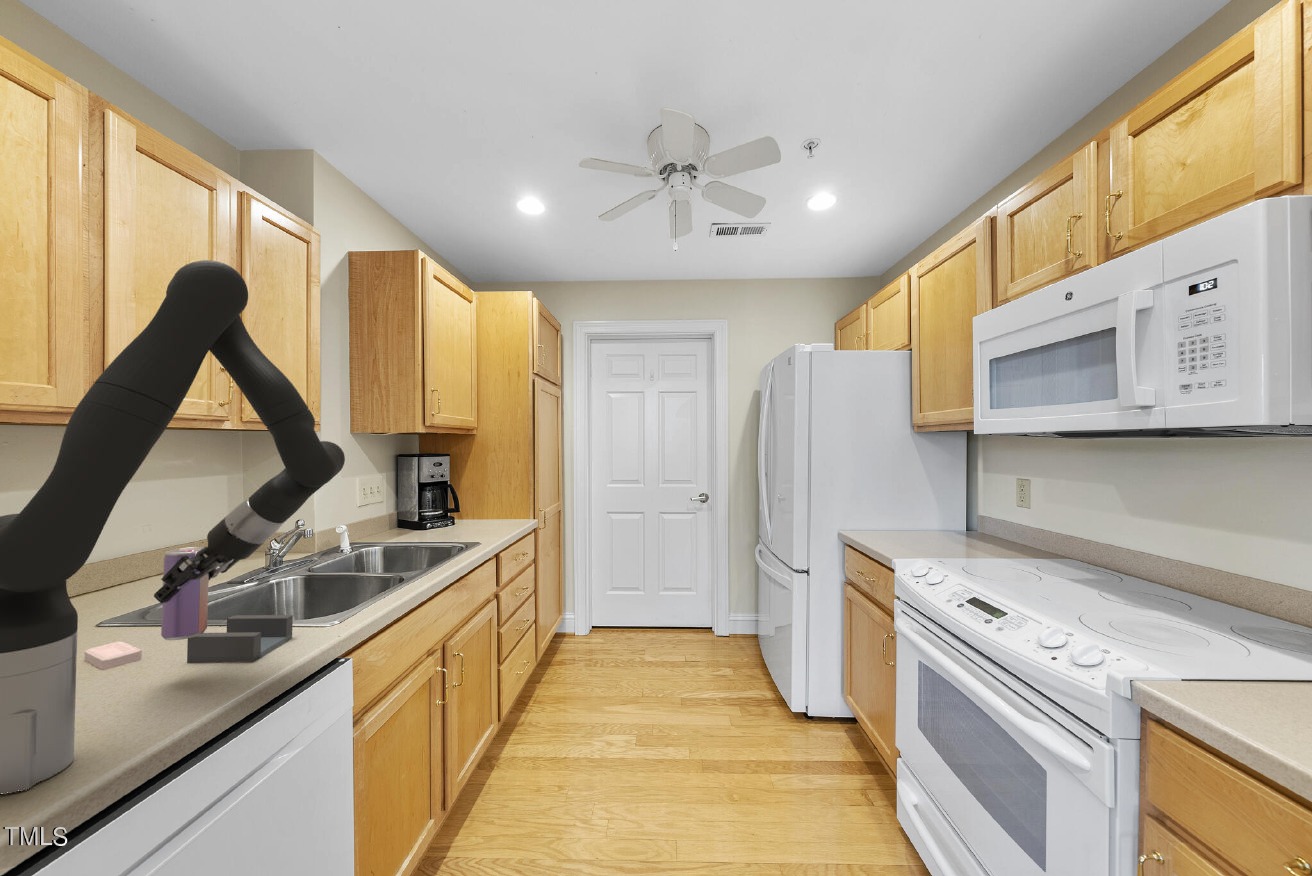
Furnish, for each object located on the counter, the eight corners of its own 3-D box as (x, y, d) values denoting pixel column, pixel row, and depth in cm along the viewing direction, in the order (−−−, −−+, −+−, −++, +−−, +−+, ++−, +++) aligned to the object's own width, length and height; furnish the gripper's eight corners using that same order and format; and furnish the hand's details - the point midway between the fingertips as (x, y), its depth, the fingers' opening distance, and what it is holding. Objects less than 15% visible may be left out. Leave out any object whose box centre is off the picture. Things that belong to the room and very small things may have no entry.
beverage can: (178, 642, 87) (182, 554, 87) (151, 639, 88) (154, 552, 89) (215, 630, 93) (218, 547, 93) (189, 627, 94) (192, 545, 94)
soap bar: (121, 651, 103) (122, 639, 103) (142, 661, 99) (142, 648, 99) (83, 661, 99) (83, 649, 99) (103, 672, 95) (103, 659, 95)
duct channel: (292, 637, 111) (292, 614, 111) (253, 661, 99) (254, 636, 99) (233, 638, 110) (233, 615, 110) (187, 662, 98) (187, 636, 98)
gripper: (260, 507, 99) (192, 569, 98) (200, 517, 84) (119, 590, 83) (289, 534, 99) (221, 596, 98) (233, 550, 85) (153, 623, 84)
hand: (175, 593), depth 91 cm, fingers closed on beverage can, 5 cm apart
